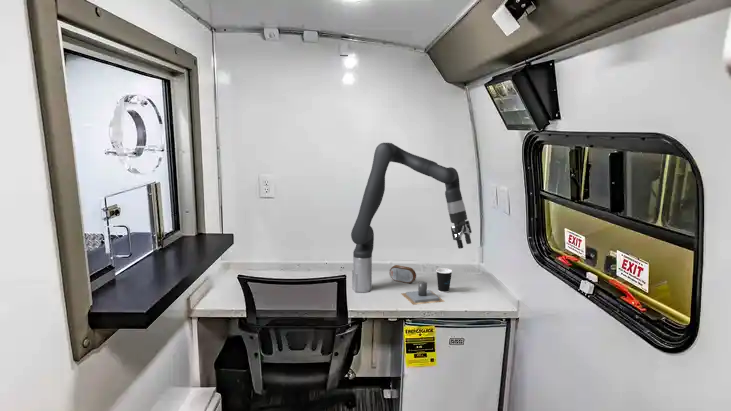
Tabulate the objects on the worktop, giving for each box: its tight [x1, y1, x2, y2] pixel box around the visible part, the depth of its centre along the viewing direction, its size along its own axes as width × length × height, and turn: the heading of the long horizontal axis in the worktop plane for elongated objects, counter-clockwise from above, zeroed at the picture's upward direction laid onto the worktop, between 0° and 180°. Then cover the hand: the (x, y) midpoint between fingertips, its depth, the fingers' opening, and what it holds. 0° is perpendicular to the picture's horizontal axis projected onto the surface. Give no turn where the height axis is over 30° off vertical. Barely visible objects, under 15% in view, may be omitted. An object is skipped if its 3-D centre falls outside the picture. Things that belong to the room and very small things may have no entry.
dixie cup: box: [435, 267, 453, 294], centre depth 231 cm, size 8×8×11 cm
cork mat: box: [400, 290, 446, 306], centre depth 222 cm, size 16×16×1 cm
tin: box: [389, 264, 417, 284], centre depth 247 cm, size 15×3×8 cm, turn 58°
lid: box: [405, 281, 440, 303], centre depth 221 cm, size 12×12×7 cm
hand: (465, 245), depth 210 cm, fingers open, 8 cm apart
